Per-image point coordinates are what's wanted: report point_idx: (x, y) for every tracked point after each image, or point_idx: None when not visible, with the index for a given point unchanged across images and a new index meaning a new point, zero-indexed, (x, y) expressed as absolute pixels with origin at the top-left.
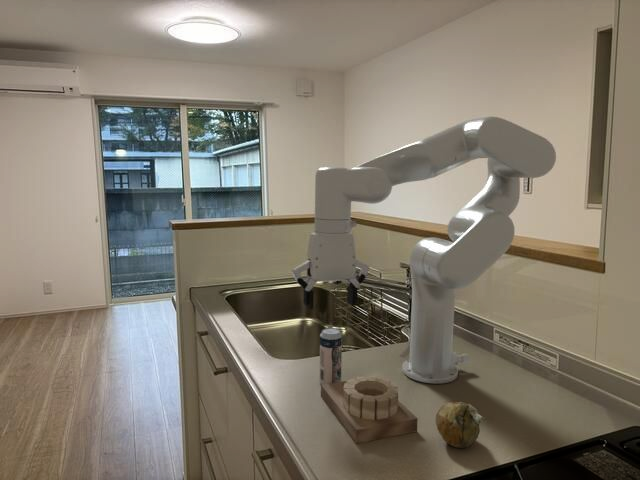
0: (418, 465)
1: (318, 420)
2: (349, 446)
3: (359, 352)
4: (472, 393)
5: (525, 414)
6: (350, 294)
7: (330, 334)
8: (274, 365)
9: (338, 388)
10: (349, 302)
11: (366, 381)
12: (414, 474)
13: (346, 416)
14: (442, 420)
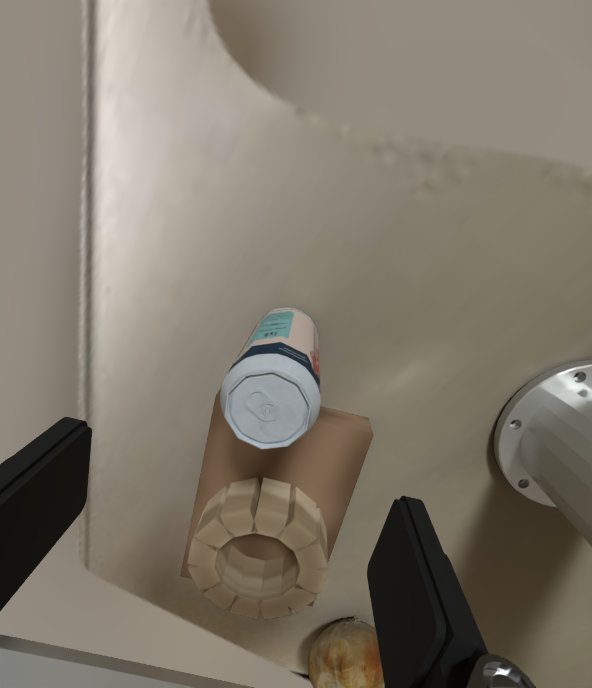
0: (244, 631)
1: (165, 462)
2: (174, 551)
3: (536, 184)
4: (543, 553)
5: (538, 643)
6: (393, 612)
7: (242, 439)
8: (193, 113)
9: None
10: (382, 539)
11: (274, 534)
12: (224, 639)
13: (190, 535)
14: (312, 678)
